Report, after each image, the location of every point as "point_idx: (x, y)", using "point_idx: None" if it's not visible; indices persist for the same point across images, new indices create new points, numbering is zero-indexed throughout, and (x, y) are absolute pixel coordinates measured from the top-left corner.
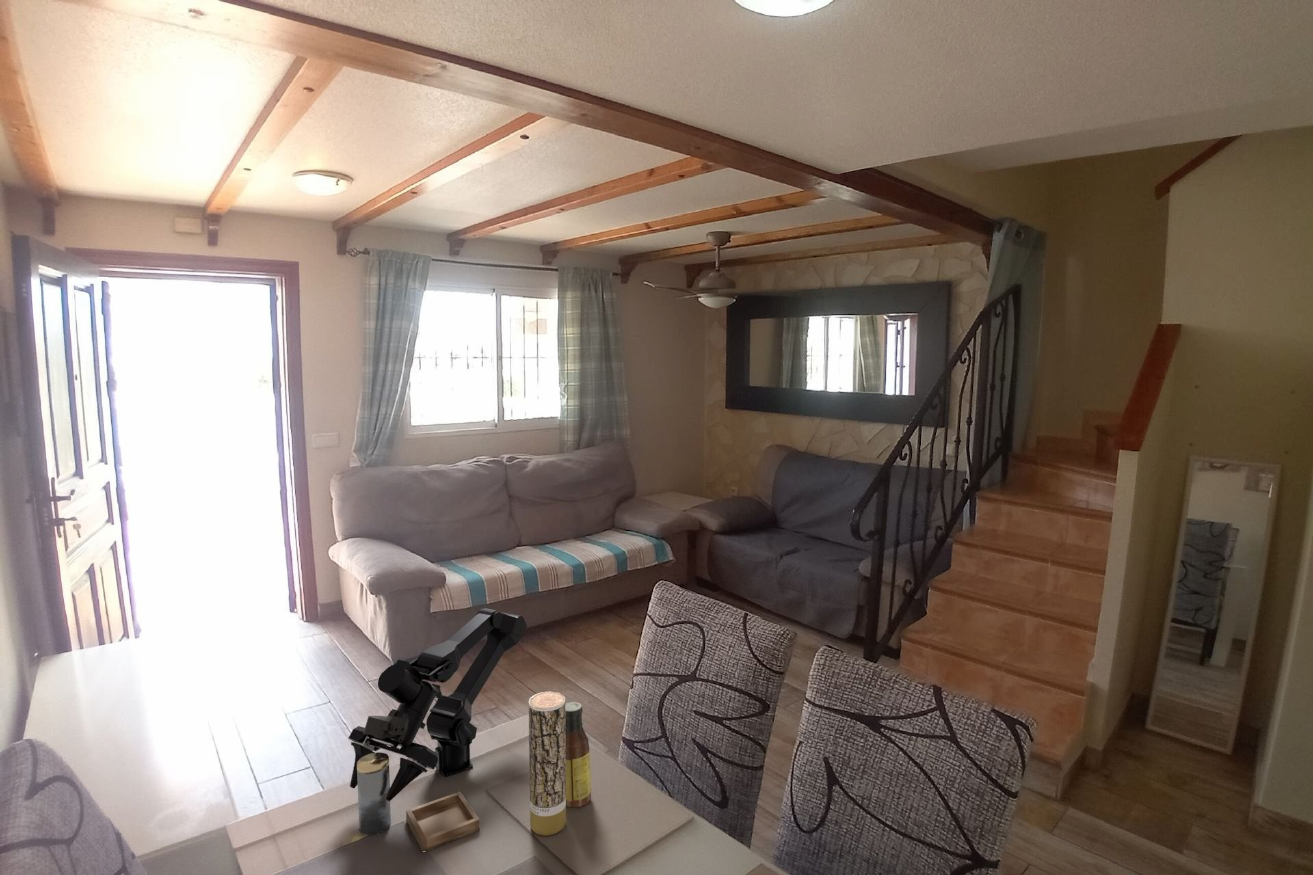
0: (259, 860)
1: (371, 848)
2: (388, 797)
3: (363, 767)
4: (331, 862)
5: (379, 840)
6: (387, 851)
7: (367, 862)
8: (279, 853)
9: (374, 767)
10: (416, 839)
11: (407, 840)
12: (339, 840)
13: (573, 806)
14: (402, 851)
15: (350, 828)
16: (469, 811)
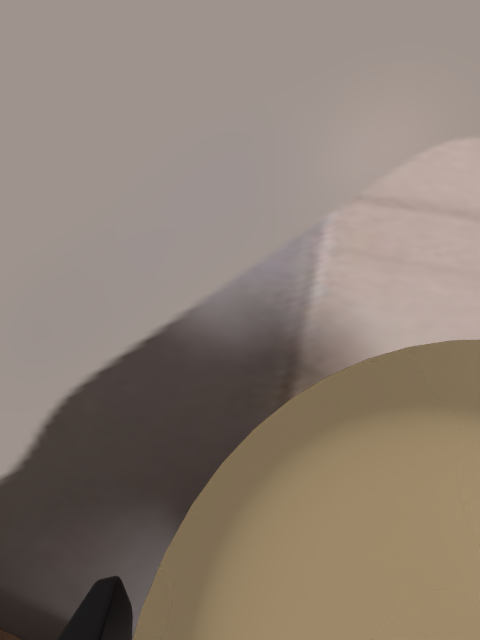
0: (449, 159)
1: (172, 442)
2: (88, 597)
3: (401, 396)
4: (234, 296)
5: (190, 501)
6: (89, 478)
7: (109, 382)
8: (440, 207)
9: (190, 568)
10: (11, 637)
11: (63, 601)
12: None
13: None
14: (23, 527)
15: None
16: None
